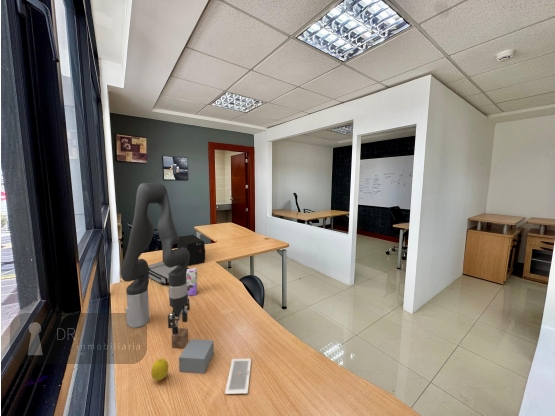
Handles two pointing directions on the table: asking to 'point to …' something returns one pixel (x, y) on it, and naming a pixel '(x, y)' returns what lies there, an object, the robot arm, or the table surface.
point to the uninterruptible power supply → (193, 248)
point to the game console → (160, 272)
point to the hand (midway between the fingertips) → (180, 327)
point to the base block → (196, 356)
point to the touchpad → (238, 376)
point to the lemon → (159, 369)
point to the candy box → (191, 281)
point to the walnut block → (180, 338)
